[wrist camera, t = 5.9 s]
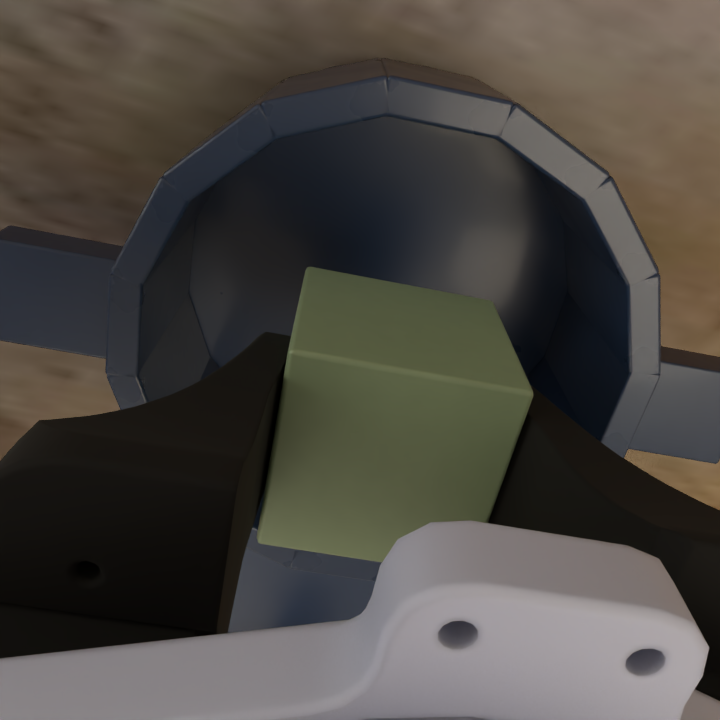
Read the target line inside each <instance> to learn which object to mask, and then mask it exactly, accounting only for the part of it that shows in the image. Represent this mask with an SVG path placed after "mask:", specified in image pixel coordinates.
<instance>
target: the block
mask: <svg viewBox="0 0 720 720" xmlns="http://www.w3.org/2000/svg"><path fill="white" fill-rule="evenodd" d="M532 398H533V390H532V388H531V386H530V384H529V381H528V379H527V377H526V375H525V373H524V370H523V368H522V366H521V364H520V361H519V359H518V357H517V355H516V352H515V350H514V348H513V346H512V344H511V341H510V339H509V337H508V335H507V332H506V330H505V328H504V326H503V324H502V321H501V319H500V317H499V315H498V312H497V310H496V308H495V306H494V303H493V302H492V301H490V300H485V299H480V298H474V297H469V296H464V295H458V294H453V293H448V292H442V291H437V290H432V289H427V288H421V287H416V286H411V285H405V284H400V283H395V282H389V281H384V280H379V279H373V278H368V277H363V276H357V275H352V274H347V273H341V272H336V271H331V270H326V269H320V268H315V267H307V269H306V270H305V275H304V279H303V284H302V288H301V293H300V298H299V302H298V307H297V311H296V316H295V321H294V325H293V330H292V335H291V339H290V344H289V348H288V353H287V359H286V365H285V371H284V377H283V383H282V389H281V395H280V401H279V407H278V413H277V419H276V425H275V431H274V437H273V443H272V449H271V455H270V461H269V467H268V472H267V478H266V484H265V490H264V496H263V502H262V508H261V514H260V520H259V526H258V532H257V541H258V543H260V544H265V545H271V546H278V547H284V548H291V549H297V550H304V551H310V552H317V553H324V554H330V555H337V556H343V557H350V558H356V559H363V560H370V561H376V562H383V560H384V559H385V557H386V556H387V554H388V553H389V551H390V550H391V548H392V547H393V545H394V544H395V542H396V541H397V539H399V538H401V537H403V536H405V535H407V534H409V533H411V532H413V531H415V530H417V529H419V528H421V527H423V526H425V525H427V524H429V523H430V522H448V521H468V520H471V521H477V522H483V523H488V521H489V518H490V516H491V513H492V510H493V507H494V504H495V502H496V499H497V496H498V493H499V491H500V488H501V485H502V482H503V479H504V477H505V474H506V471H507V468H508V465H509V463H510V460H511V457H512V454H513V451H514V449H515V446H516V443H517V440H518V438H519V435H520V432H521V429H522V426H523V424H524V421H525V418H526V415H527V412H528V410H529V407H530V404H531V401H532Z"/></svg>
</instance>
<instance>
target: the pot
mask: <svg viewBox="0 0 720 720" xmlns="http://www.w3.org/2000/svg"><path fill="white" fill-rule="evenodd" d="M307 267H315V268H320V269H326V270H331V271H336V272H341V273H347V274H352V275H357V276H363V277H368V278H373V279H379V280H384V281H389V282H395V283H400V284H405V285H411V286H416V287H421V288H427V289H432V290H437V291H442V292H448V293H453V294H458V295H464V296H469V297H474V298H480V299H485V300H490V301H492V302H493V303H494V306H495V308H496V310H497V312H498V315H499V317H500V319H501V321H502V324H503V326H504V328H505V330H506V332H507V335H508V337H509V339H510V341H511V344H512V346H513V348H514V350H515V352H516V355H517V357H518V359H519V361H520V364H521V366H522V368H523V370H524V373H525V375H526V377H527V379H528V381H529V384H530V385H531V386H533V387H534V388H535V389H536V390H537V391H539V392H540V393H541V394H542V395H544V396H545V397H546V398H547V399H548V400H549V401H551V402H552V403H553V404H554V405H555V406H556V407H558V408H559V409H560V410H561V411H562V412H564V413H565V414H566V415H567V416H568V417H570V418H571V419H572V420H573V421H574V422H576V423H577V424H578V425H579V426H581V427H582V428H583V429H584V430H586V431H587V432H588V433H589V434H591V435H592V436H593V437H595V438H596V439H597V440H599V441H600V442H601V443H603V444H604V445H605V446H607V447H608V448H609V449H611V450H612V451H614V452H615V453H616V454H618V455H619V456H621V457H622V458H624V457H625V454H626V452H627V450H628V449H633V450H639V451H645V452H650V453H656V454H662V455H668V456H674V457H680V458H685V459H691V460H697V461H703V462H709V463H715V464H716V463H718V461H719V459H720V357H716V356H711V355H706V354H700V353H695V352H689V351H684V350H679V349H673V348H668V347H663V346H661V332H660V275H659V271H658V267H657V265H656V263H655V261H654V259H653V257H652V255H651V253H650V251H649V249H648V247H647V245H646V243H645V241H644V239H643V237H642V235H641V233H640V231H639V229H638V227H637V225H636V223H635V221H634V219H633V217H632V215H631V213H630V211H629V209H628V207H627V205H626V203H625V201H624V199H623V197H622V195H621V193H620V191H619V189H618V187H617V185H616V183H615V181H614V179H613V178H612V177H611V176H610V175H609V173H608V171H606V170H605V169H604V168H602V167H601V166H600V165H598V164H597V163H596V162H594V161H593V160H592V159H590V158H589V157H588V156H586V155H585V154H584V153H582V152H581V151H580V150H579V149H577V148H576V147H575V146H573V145H572V144H571V143H569V142H568V141H567V140H565V139H564V138H563V137H561V136H560V135H559V134H557V133H556V132H555V131H553V130H552V129H551V128H550V127H548V126H547V125H546V124H544V123H543V122H542V121H540V120H539V119H538V118H536V117H535V116H534V115H532V114H531V113H530V112H528V111H527V110H526V109H524V108H523V107H522V106H521V105H519V104H518V103H516V102H514V101H513V100H511V99H509V98H508V97H506V96H504V95H503V94H501V93H499V92H498V91H496V90H494V89H493V88H491V87H489V86H488V85H486V84H484V83H483V82H481V81H479V80H477V79H474V78H473V77H469V76H465V75H460V74H455V73H451V72H446V71H441V70H438V69H434V68H431V67H427V66H421V65H414V64H409V63H404V62H400V61H395V60H391V59H386V58H382V59H379V58H376V59H371V60H366V61H362V62H357V63H353V64H347V65H340V66H334V67H330V68H327V69H323V70H320V71H316V72H311V73H307V74H302V75H297V76H293V77H289V78H288V79H286V80H283V81H281V82H280V83H279V84H277V85H276V86H275V87H273V88H272V89H271V90H269V91H268V92H266V93H265V94H264V95H262V96H261V97H260V98H258V99H257V100H256V101H254V102H253V103H252V104H250V105H249V106H248V107H246V108H245V109H244V110H242V111H241V112H240V113H238V114H237V115H236V116H234V117H233V118H232V119H230V120H229V121H228V122H226V123H225V124H224V125H222V126H221V127H220V128H218V129H217V130H215V131H214V132H213V133H212V134H210V135H209V136H208V137H207V138H206V139H204V140H203V141H202V142H201V143H200V144H198V145H197V146H196V147H195V148H193V149H192V150H191V151H190V152H189V153H187V154H186V155H185V156H184V157H183V158H181V159H180V160H179V161H178V162H176V163H175V164H174V165H173V166H172V167H170V168H169V169H168V170H167V171H166V172H164V174H163V176H162V177H160V178H159V180H158V182H157V184H156V186H155V187H154V189H153V191H152V193H151V195H150V197H149V199H148V201H147V203H146V204H145V206H144V208H143V210H142V212H141V214H140V216H139V218H138V220H137V221H136V223H135V225H134V227H133V229H132V231H131V233H130V235H129V237H128V238H127V240H126V242H125V244H124V246H118V245H113V244H107V243H102V242H96V241H91V240H86V239H80V238H75V237H70V236H64V235H59V234H53V233H48V232H43V231H37V230H32V229H27V228H21V227H16V226H8V227H6V228H4V229H3V230H1V231H0V341H6V342H12V343H18V344H23V345H29V346H35V347H41V348H47V349H53V350H58V351H64V352H70V353H76V354H82V355H88V356H93V357H99V358H105V359H106V374H107V378H108V381H109V383H110V385H111V388H112V390H113V393H114V395H115V398H116V400H117V402H118V405H119V407H120V410H123V409H127V408H131V407H135V406H138V405H141V404H144V403H147V402H150V401H153V400H156V399H159V398H162V397H165V396H168V395H171V394H173V393H176V392H178V391H180V390H182V389H185V388H187V387H189V386H191V385H193V384H195V383H197V382H199V381H201V380H202V379H204V378H205V377H207V376H208V375H210V374H211V373H213V372H215V371H216V370H218V369H219V368H221V367H222V366H224V365H225V364H226V363H227V362H229V361H230V360H231V359H233V358H234V357H235V356H237V355H238V354H239V353H240V352H242V351H243V350H244V349H245V348H246V347H247V346H249V345H250V344H251V343H252V342H253V341H254V340H255V339H256V338H257V337H258V336H259V335H261V334H263V333H264V332H271V333H277V334H282V335H288V336H291V335H292V330H293V325H294V321H295V316H296V311H297V307H298V302H299V298H300V293H301V288H302V284H303V279H304V275H305V270H306V269H307ZM263 496H264V493H263ZM263 496H262V500H261V503H260V506H259V509H258V512H257V515H256V518H255V521H254V524H253V527H252V530H251V533H250V537H249V540H248V543H247V546H246V547H247V548H249V549H251V550H253V551H255V552H257V553H259V554H261V555H263V556H265V557H267V558H269V559H271V560H273V561H275V562H277V563H279V564H281V565H283V566H285V567H290V569H294V570H301V571H307V572H314V573H321V574H328V575H334V576H341V577H348V578H354V579H361V580H368V581H374V582H376V578H377V575H378V571H379V567H380V565H381V563H382V562H376V561H370V560H363V559H356V558H350V557H343V556H337V555H330V554H324V553H317V552H310V551H304V550H297V549H291V548H284V547H278V546H271V545H265V544H260V543H258V541H257V532H258V526H259V520H260V514H261V508H262V502H263Z"/></svg>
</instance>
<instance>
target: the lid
mask: <svg viewBox="0 0 720 720" xmlns="http://www.w3.org/2000/svg"><path fill="white" fill-rule="evenodd" d="M374 585H375V582H374V581H368V580H361V579H354V578H348V577H341V576H334V575H328V574H321V573H314V572H307V571H301V570H294V569H290V567H285V566H283V565H281V564H279V563H277V562H275V561H273V560H271V559H269V558H267V557H265V556H263V555H261V554H259V553H257V552H255V551H253V550H251V549H249V548H247V547H246V550H245V554H244V557H243V561H242V565H241V570H240V575H239V580H238V585H237V589H236V594H235V599H234V604H233V609H232V614H231V619H230V624H229V629H228V633H234V632H243V631H252V630H261V629H270V628H279V627H288V626H297V625H306V624H315V623H324V622H333V621H342V620H349V619H352V618H354V617H356V616H358V615H360V614H361V613H362V612H363V611H364V610H365V609H366V607H367V605H368V602H369V600H370V598H371V596H372V593H373V589H374Z"/></svg>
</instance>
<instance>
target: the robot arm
mask: <svg viewBox="0 0 720 720" xmlns="http://www.w3.org/2000/svg"><path fill="white" fill-rule="evenodd" d="M290 339H291V336H288V335H282V334H277V333H271V332H264V333H263V334H261V335H259V336H258V337H257V338H256V339H255V340H254V341H253V342H252V343H251V344H250V345H249V346H247V347H246V348H245V349H244V350H243V351H242V352H240V353H239V354H238V355H237V356H235V357H234V358H233V359H231V360H230V361H229V362H227V363H226V364H225V365H224V366H222V367H221V368H219V369H218V370H216V371H215V372H213V373H211V374H210V375H208V376H207V377H205V378H204V379H202V380H201V381H199V382H197V383H195V384H193V385H191V386H189V387H187V388H185V389H182V390H180V391H178V392H176V393H173V394H171V395H168V396H165V397H162V398H159V399H156V400H153V401H150V402H147V403H144V404H141V405H138V406H135V407H131V408H127V409H123V410H118V411H114V412H108V413H103V414H98V415H91V416H84V417H74V418H63V419H53V420H39V421H38V422H37V423H36V424H35V425H34V426H33V427H32V428H31V429H30V430H29V431H28V432H27V433H26V434H25V435H24V436H22V437H21V438H20V439H19V440H18V441H17V443H16V444H15V445H14V446H13V447H12V448H11V449H10V450H9V451H8V452H7V454H6V455H5V456H4V457H3V459H2V460H1V461H0V720H720V510H717V509H715V508H713V507H711V506H709V505H706V504H704V503H702V502H700V501H698V500H696V499H694V498H692V497H690V496H688V495H686V494H684V493H682V492H680V491H678V490H676V489H674V488H672V487H670V486H669V485H667V484H665V483H663V482H661V481H660V480H658V479H656V478H654V477H653V476H651V475H649V474H648V473H646V472H645V471H643V470H641V469H640V468H638V467H636V466H635V465H633V464H632V463H630V462H628V461H627V460H625V459H624V458H622V457H621V456H619V455H618V454H616V453H615V452H614V451H612V450H611V449H609V448H608V447H607V446H605V445H604V444H603V443H601V442H600V441H599V440H597V439H596V438H595V437H593V436H592V435H591V434H589V433H588V432H587V431H586V430H584V429H583V428H582V427H581V426H579V425H578V424H577V423H576V422H574V421H573V420H572V419H571V418H570V417H568V416H567V415H566V414H565V413H564V412H562V411H561V410H560V409H559V408H558V407H556V406H555V405H554V404H553V403H552V402H551V401H549V400H548V399H547V398H546V397H545V396H544V395H542V394H541V393H540V392H539V391H537V390H536V389H535V388H534V387H533V386H531V385H530V386H531V388H532V390H533V398H532V401H531V404H530V407H529V410H528V412H527V415H526V418H525V421H524V424H523V426H522V429H521V432H520V435H519V438H518V440H517V443H516V446H515V449H514V451H513V454H512V457H511V460H510V463H509V465H508V468H507V471H506V474H505V477H504V479H503V482H502V485H501V488H500V491H499V493H498V496H497V499H496V502H495V504H494V507H493V510H492V513H491V516H490V518H489V521H488V523H483V522H477V521H471V520H468V521H448V522H430V523H429V524H427V525H425V526H423V527H421V528H419V529H417V530H415V531H413V532H411V533H409V534H407V535H405V536H403V537H401V538H399V539H397V541H396V542H395V544H394V545H393V547H392V548H391V550H390V551H389V553H388V554H387V556H386V557H385V559H384V560H383V562H382V563H381V565H380V567H379V571H378V575H377V578H376V582H375V585H374V589H373V593H372V596H371V598H370V600H369V602H368V605H367V607H366V609H365V610H364V611H363V612H362V613H361V614H360V615H358V616H356V617H354V618H352V619H349V620H342V621H333V622H324V623H315V624H306V625H297V626H288V627H279V628H270V629H261V630H252V631H243V632H234V633H228V629H229V624H230V619H231V614H232V609H233V604H234V599H235V594H236V589H237V585H238V580H239V575H240V570H241V565H242V561H243V557H244V554H245V550H246V546H247V543H248V540H249V537H250V533H251V530H252V527H253V524H254V521H255V518H256V515H257V512H258V509H259V506H260V503H261V500H262V496H263V493H264V490H265V484H266V478H267V472H268V467H269V461H270V455H271V449H272V443H273V437H274V431H275V425H276V419H277V413H278V407H279V401H280V395H281V389H282V383H283V377H284V371H285V365H286V359H287V353H288V348H289V344H290Z"/></svg>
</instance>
